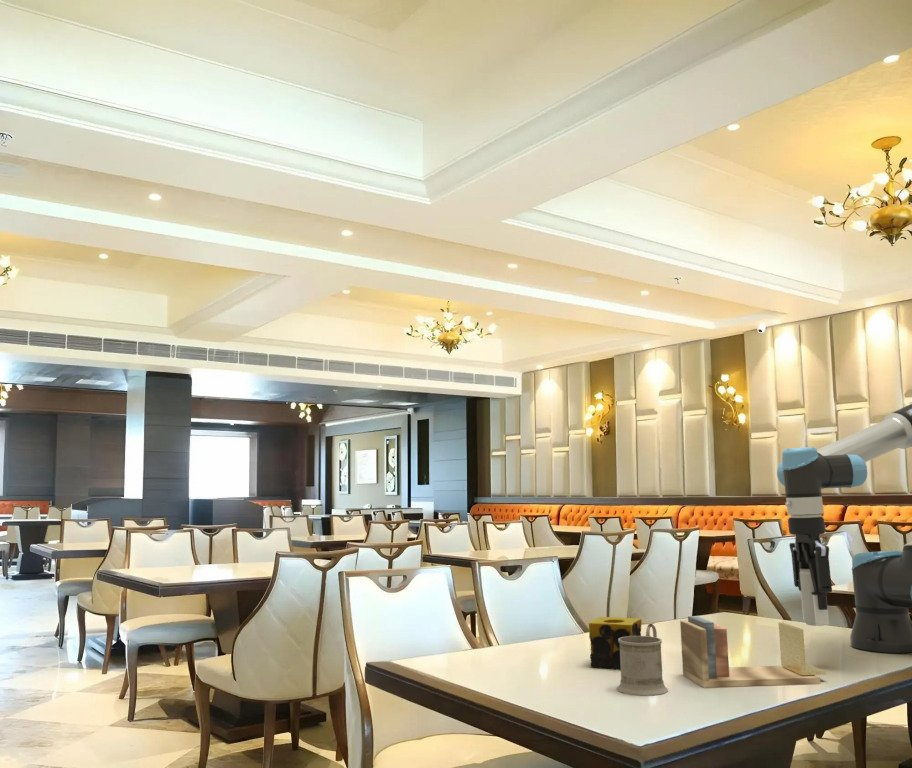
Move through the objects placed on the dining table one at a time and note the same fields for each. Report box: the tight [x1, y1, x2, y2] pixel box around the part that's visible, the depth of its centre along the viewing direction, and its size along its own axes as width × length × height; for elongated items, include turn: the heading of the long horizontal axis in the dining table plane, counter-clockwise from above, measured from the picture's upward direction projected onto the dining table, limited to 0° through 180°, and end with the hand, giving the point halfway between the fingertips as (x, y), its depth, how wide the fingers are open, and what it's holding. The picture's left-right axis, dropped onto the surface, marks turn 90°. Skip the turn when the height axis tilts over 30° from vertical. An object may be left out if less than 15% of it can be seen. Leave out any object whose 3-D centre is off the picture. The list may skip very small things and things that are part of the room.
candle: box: [588, 616, 642, 671], centre depth 187 cm, size 10×10×10 cm
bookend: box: [778, 622, 826, 676], centre depth 171 cm, size 5×9×9 cm, turn 4°
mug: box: [616, 622, 669, 697], centre depth 165 cm, size 14×10×12 cm
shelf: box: [679, 615, 821, 689], centre depth 171 cm, size 24×12×12 cm, turn 94°
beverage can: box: [800, 569, 824, 627], centre depth 182 cm, size 5×5×12 cm
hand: (816, 622), depth 181 cm, fingers closed on beverage can, 5 cm apart
